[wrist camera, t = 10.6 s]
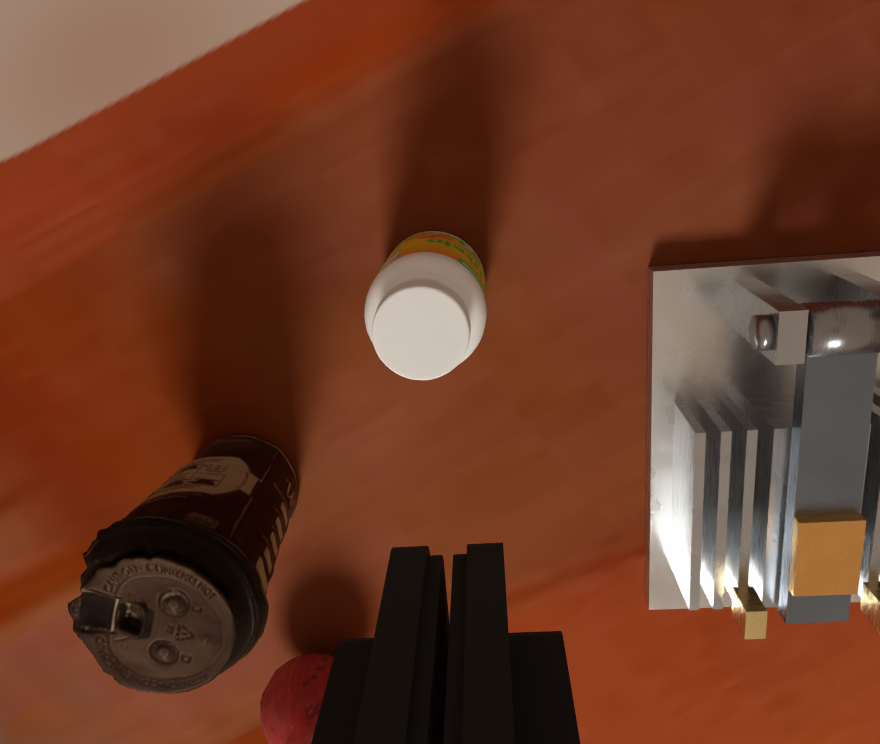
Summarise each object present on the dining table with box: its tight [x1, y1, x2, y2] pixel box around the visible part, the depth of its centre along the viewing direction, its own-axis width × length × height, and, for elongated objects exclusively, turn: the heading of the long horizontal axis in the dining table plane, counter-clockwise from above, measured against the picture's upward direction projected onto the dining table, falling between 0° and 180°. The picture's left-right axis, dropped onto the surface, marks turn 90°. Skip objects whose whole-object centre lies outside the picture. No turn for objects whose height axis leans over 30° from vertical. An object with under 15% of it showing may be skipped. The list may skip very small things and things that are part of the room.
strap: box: [778, 298, 880, 623], centre depth 35 cm, size 16×3×2 cm, turn 5°
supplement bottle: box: [364, 231, 487, 380], centre depth 35 cm, size 5×5×10 cm
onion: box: [260, 653, 334, 744], centre depth 44 cm, size 6×6×8 cm
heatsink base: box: [645, 251, 880, 639], centre depth 38 cm, size 20×14×7 cm
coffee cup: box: [68, 435, 298, 694], centre depth 38 cm, size 9×8×13 cm
